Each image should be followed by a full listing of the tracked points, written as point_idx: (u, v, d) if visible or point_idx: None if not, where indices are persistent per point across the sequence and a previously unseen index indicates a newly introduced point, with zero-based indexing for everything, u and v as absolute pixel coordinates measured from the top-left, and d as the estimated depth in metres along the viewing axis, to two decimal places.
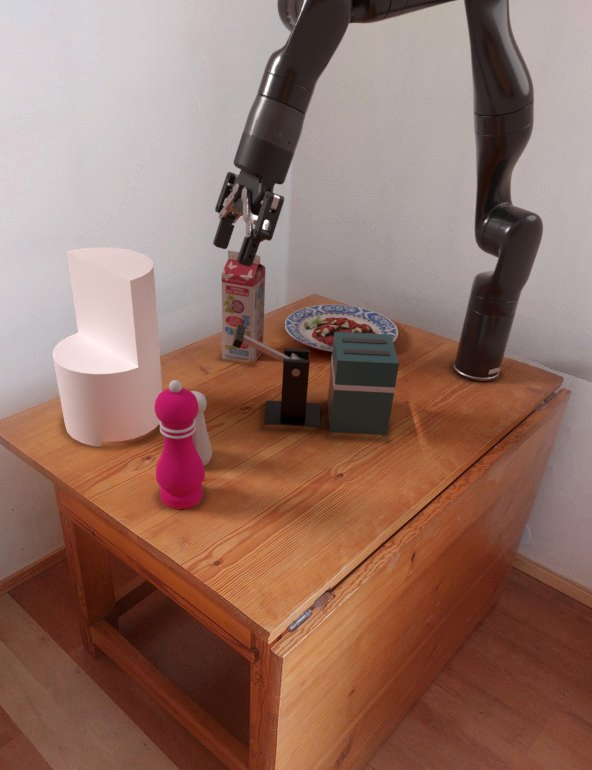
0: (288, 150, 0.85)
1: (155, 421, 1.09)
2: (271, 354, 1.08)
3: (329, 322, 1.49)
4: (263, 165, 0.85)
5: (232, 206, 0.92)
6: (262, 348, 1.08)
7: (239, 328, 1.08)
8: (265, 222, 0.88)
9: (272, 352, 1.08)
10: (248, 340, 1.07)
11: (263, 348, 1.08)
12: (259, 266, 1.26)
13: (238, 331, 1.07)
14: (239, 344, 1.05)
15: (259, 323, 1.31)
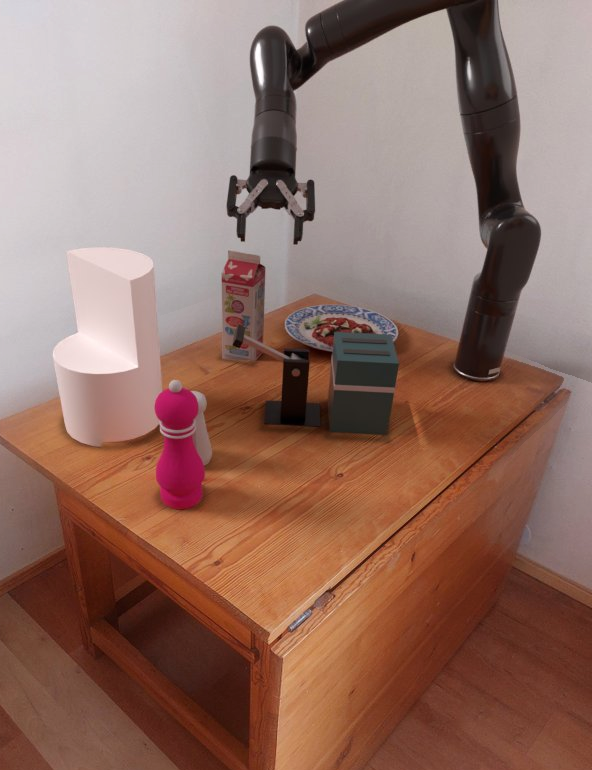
0: (252, 145, 1.03)
1: (155, 421, 1.09)
2: (271, 354, 1.08)
3: (329, 322, 1.49)
4: None
5: None
6: (262, 348, 1.08)
7: (239, 328, 1.08)
8: (246, 199, 1.02)
9: (272, 352, 1.08)
10: (248, 340, 1.07)
11: (263, 348, 1.08)
12: (259, 266, 1.26)
13: (238, 331, 1.07)
14: (239, 344, 1.05)
15: (259, 323, 1.31)
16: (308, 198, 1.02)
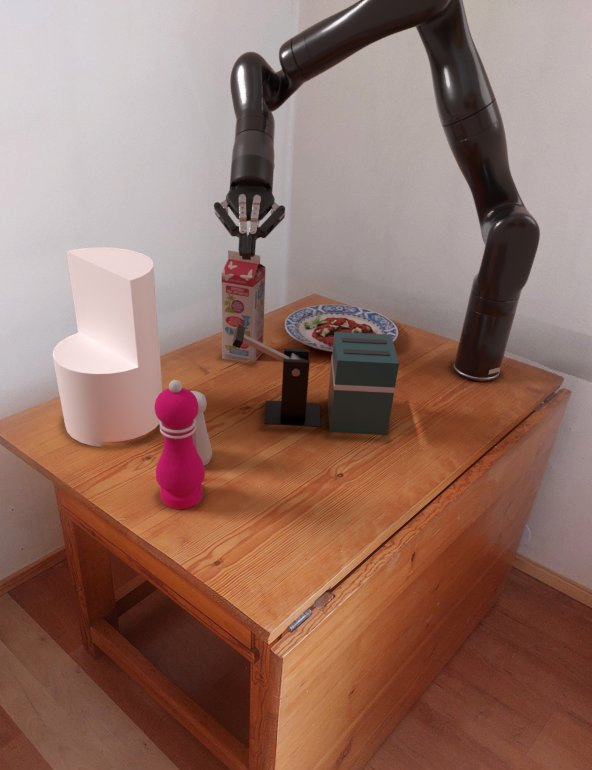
0: (232, 162, 1.11)
1: (155, 421, 1.09)
2: (271, 354, 1.08)
3: (329, 322, 1.49)
4: None
5: None
6: (262, 348, 1.08)
7: (239, 328, 1.08)
8: (239, 219, 1.09)
9: (272, 352, 1.08)
10: (248, 340, 1.07)
11: (263, 348, 1.08)
12: (259, 266, 1.26)
13: (238, 331, 1.07)
14: (239, 344, 1.05)
15: (259, 323, 1.31)
16: (269, 217, 1.09)
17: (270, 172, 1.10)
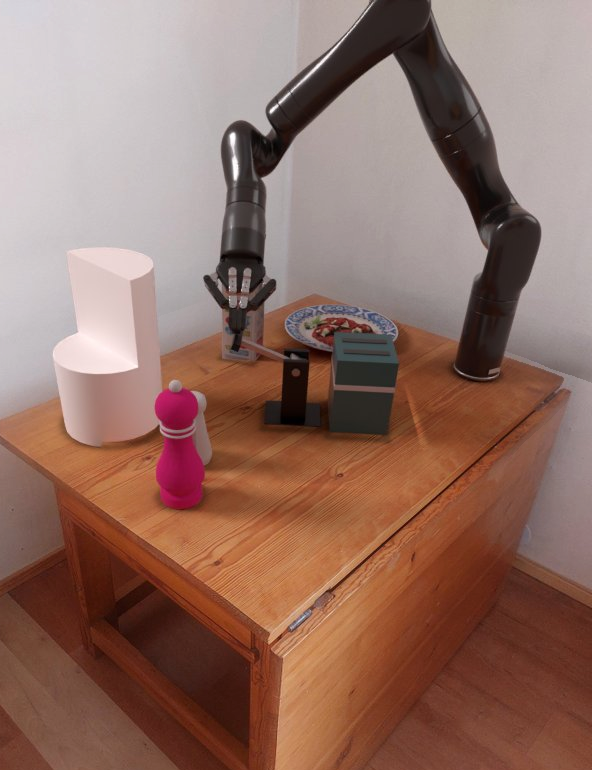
0: (222, 233, 1.08)
1: (155, 421, 1.09)
2: (270, 356, 1.08)
3: (329, 322, 1.49)
4: None
5: None
6: (261, 350, 1.08)
7: None
8: (229, 293, 1.06)
9: (271, 354, 1.08)
10: (246, 343, 1.07)
11: (261, 350, 1.08)
12: None
13: (236, 335, 1.07)
14: (237, 348, 1.05)
15: (259, 323, 1.31)
16: (260, 291, 1.06)
17: (261, 244, 1.07)
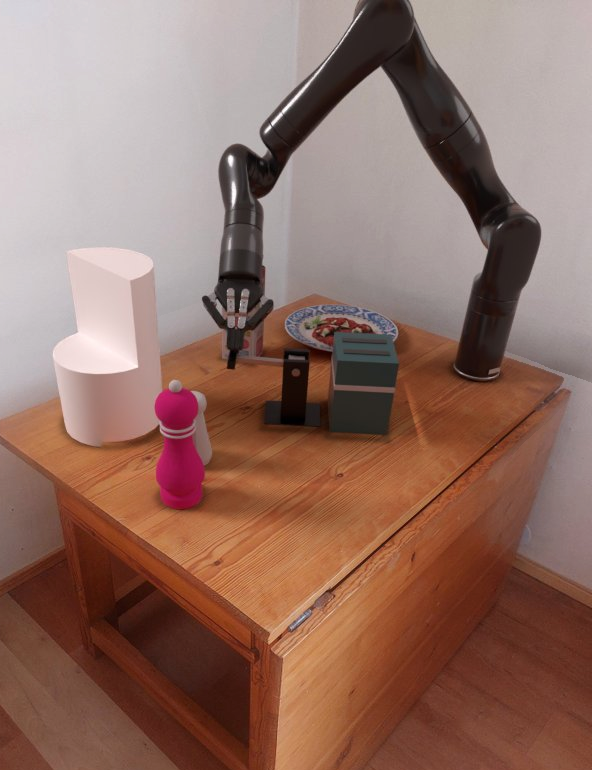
0: (220, 254, 1.10)
1: (155, 421, 1.09)
2: (268, 363, 1.09)
3: (329, 322, 1.49)
4: None
5: None
6: (258, 361, 1.09)
7: None
8: (227, 313, 1.08)
9: (268, 361, 1.09)
10: (241, 358, 1.09)
11: (258, 360, 1.09)
12: None
13: (230, 353, 1.09)
14: (232, 365, 1.07)
15: None
16: (257, 311, 1.09)
17: (259, 265, 1.09)
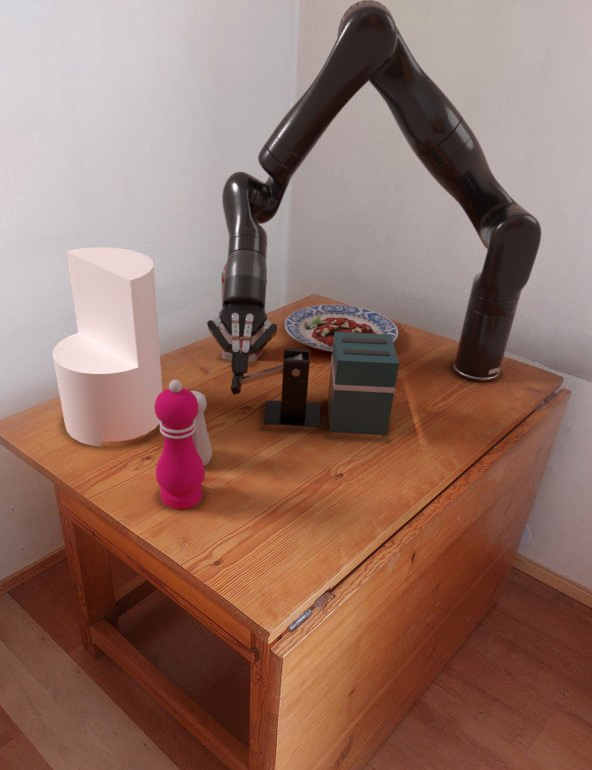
0: (225, 279, 1.13)
1: (155, 421, 1.09)
2: (270, 374, 1.10)
3: (329, 322, 1.49)
4: None
5: None
6: (259, 376, 1.11)
7: (234, 375, 1.13)
8: (232, 338, 1.11)
9: (269, 372, 1.10)
10: (244, 380, 1.11)
11: (260, 375, 1.11)
12: None
13: (233, 379, 1.12)
14: (237, 390, 1.10)
15: None
16: (261, 335, 1.11)
17: (262, 290, 1.12)
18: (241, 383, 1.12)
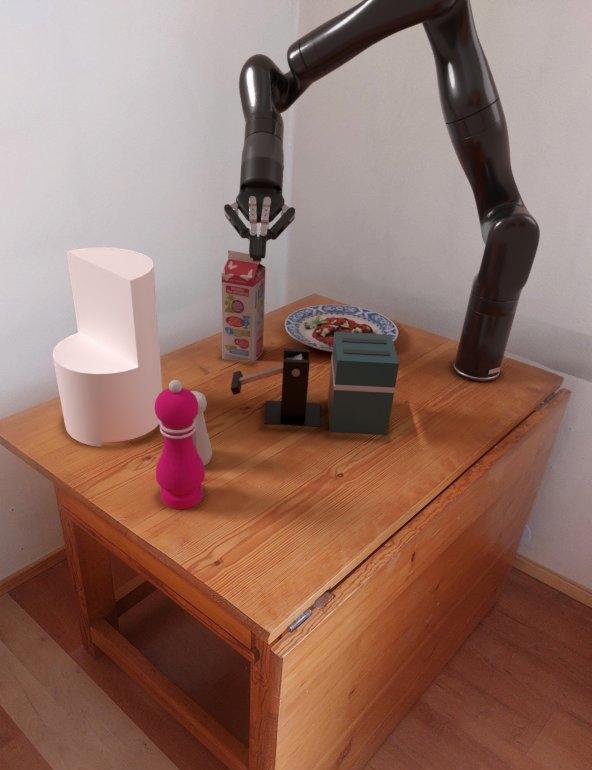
0: (241, 164, 1.11)
1: (155, 421, 1.09)
2: (270, 374, 1.10)
3: (329, 322, 1.49)
4: None
5: None
6: (259, 376, 1.11)
7: (234, 375, 1.13)
8: (249, 221, 1.09)
9: (269, 372, 1.10)
10: (244, 380, 1.11)
11: (260, 375, 1.11)
12: (259, 266, 1.26)
13: (233, 379, 1.12)
14: (237, 390, 1.10)
15: (259, 323, 1.31)
16: (279, 219, 1.09)
17: (280, 174, 1.10)
18: (241, 383, 1.12)
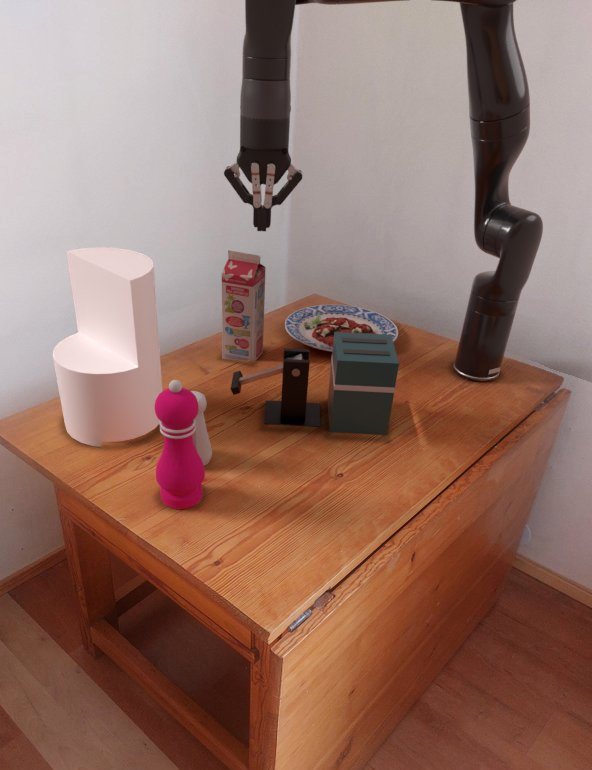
0: (241, 115, 0.95)
1: (155, 421, 1.09)
2: (270, 374, 1.10)
3: (329, 322, 1.49)
4: None
5: None
6: (259, 376, 1.11)
7: (234, 375, 1.13)
8: None
9: (269, 372, 1.10)
10: (244, 380, 1.11)
11: (260, 375, 1.11)
12: (259, 266, 1.26)
13: (233, 379, 1.12)
14: (237, 390, 1.10)
15: (259, 323, 1.31)
16: (285, 188, 1.00)
17: (286, 132, 0.95)
18: (241, 383, 1.12)
